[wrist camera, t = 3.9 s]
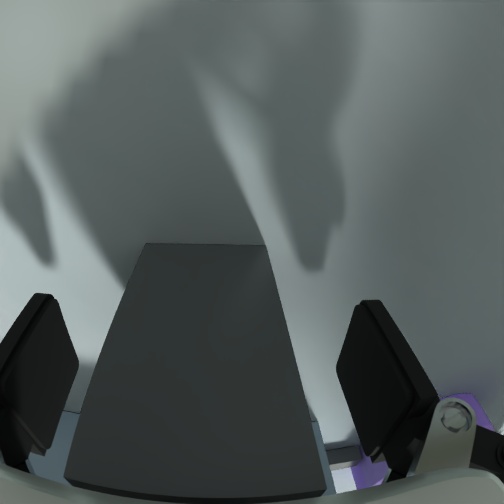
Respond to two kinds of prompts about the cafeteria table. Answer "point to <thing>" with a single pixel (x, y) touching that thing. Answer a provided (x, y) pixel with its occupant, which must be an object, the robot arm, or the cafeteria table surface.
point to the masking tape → (376, 472)
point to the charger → (198, 387)
